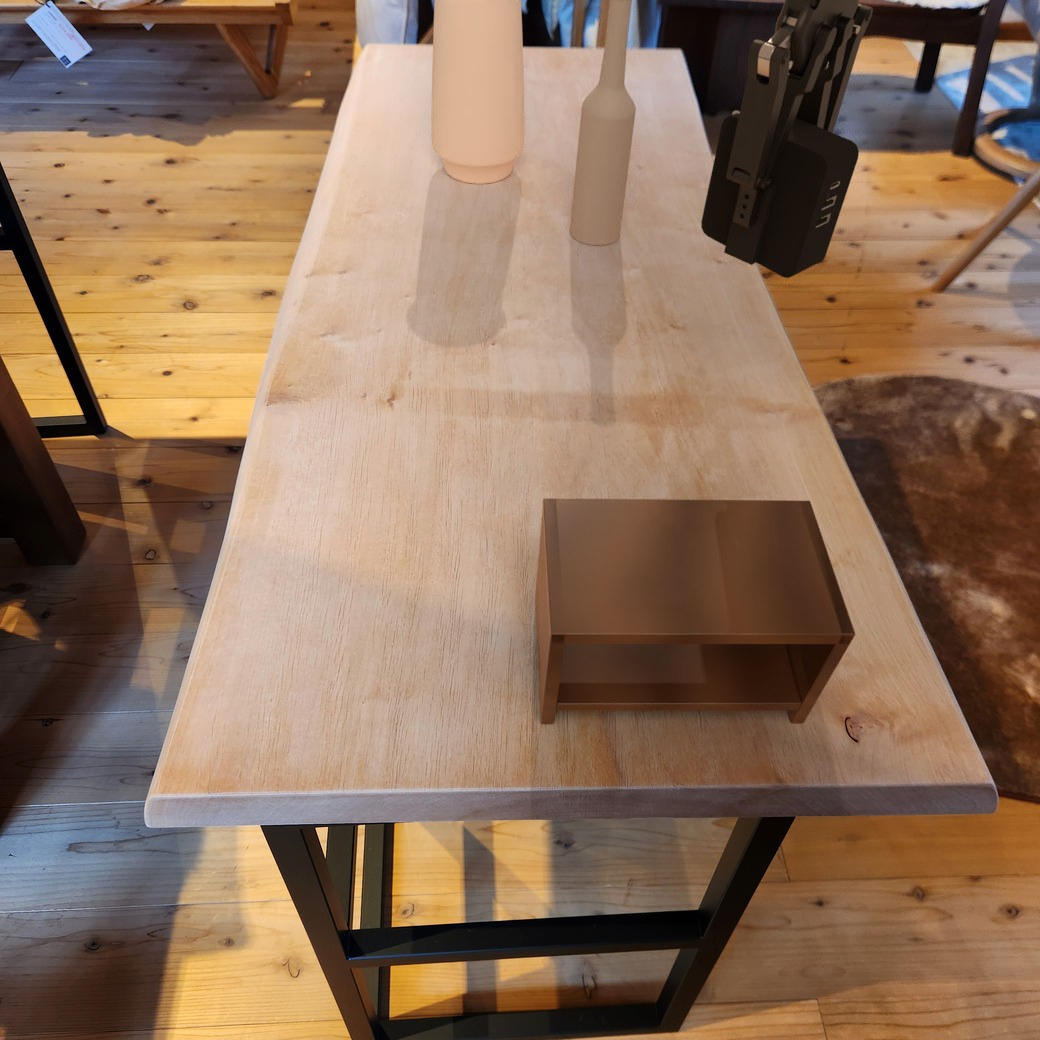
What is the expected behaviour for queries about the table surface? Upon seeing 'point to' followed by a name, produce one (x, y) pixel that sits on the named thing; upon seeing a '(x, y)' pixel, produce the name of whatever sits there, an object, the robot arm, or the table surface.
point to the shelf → (685, 606)
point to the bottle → (605, 141)
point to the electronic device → (788, 196)
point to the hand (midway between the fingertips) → (757, 244)
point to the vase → (478, 88)
